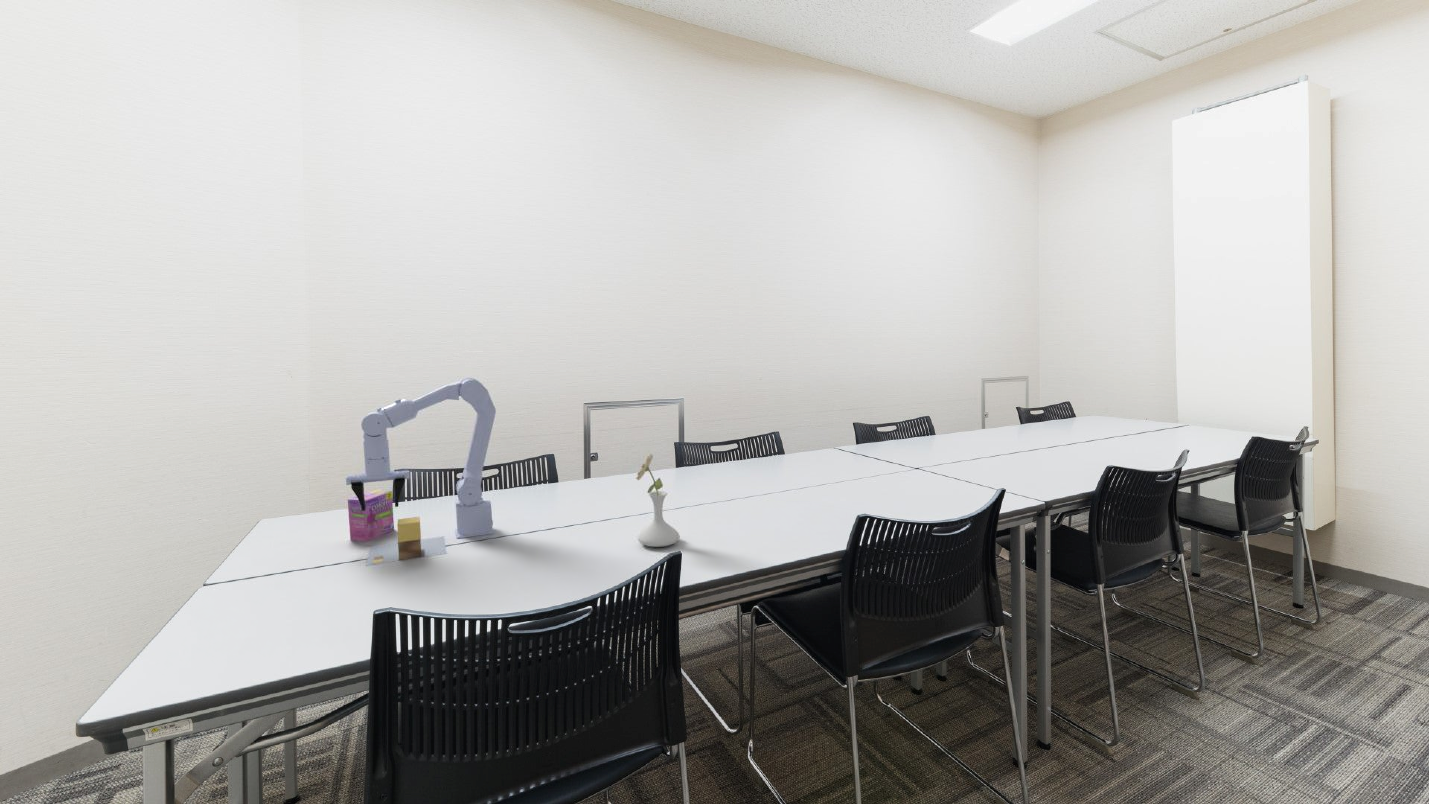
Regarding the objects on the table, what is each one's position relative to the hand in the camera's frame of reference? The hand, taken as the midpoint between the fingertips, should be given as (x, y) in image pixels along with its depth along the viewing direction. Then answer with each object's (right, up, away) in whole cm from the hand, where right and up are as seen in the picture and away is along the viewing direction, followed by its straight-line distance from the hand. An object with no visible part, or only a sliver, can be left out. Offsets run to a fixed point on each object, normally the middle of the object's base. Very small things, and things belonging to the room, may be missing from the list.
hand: (380, 507), depth 158 cm
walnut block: (+11, -11, -7) cm, 17 cm away
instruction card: (+9, -11, -3) cm, 14 cm away
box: (-8, -10, +10) cm, 16 cm away
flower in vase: (+74, -10, +1) cm, 75 cm away
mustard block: (+11, -6, -7) cm, 15 cm away
